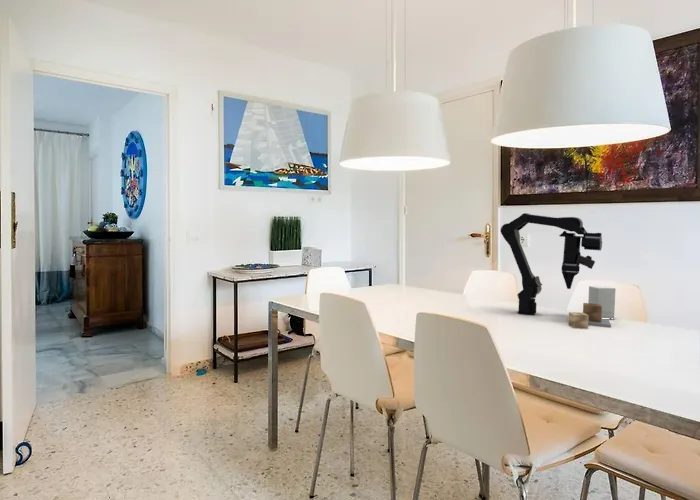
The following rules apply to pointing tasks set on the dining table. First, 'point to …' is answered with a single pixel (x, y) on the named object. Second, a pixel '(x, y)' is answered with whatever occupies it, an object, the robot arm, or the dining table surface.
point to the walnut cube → (593, 311)
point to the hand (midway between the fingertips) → (568, 287)
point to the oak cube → (578, 320)
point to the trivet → (600, 323)
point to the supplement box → (603, 299)
